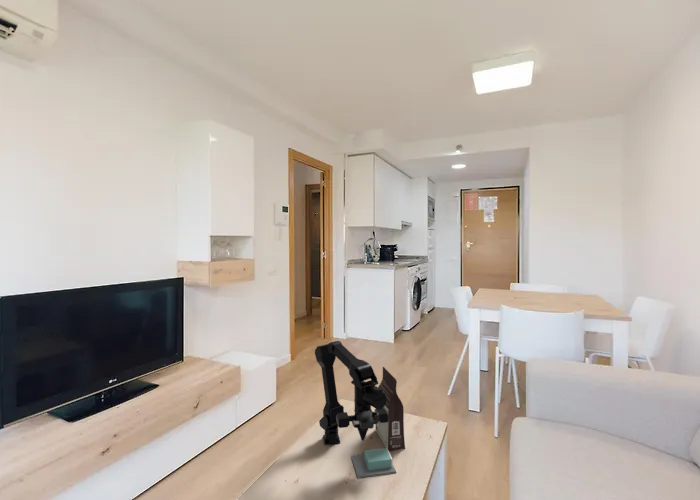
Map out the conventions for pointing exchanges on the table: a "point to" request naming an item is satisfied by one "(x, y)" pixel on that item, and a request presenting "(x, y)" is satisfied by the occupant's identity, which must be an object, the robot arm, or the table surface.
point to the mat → (363, 469)
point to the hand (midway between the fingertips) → (362, 440)
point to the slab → (378, 459)
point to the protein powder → (391, 415)
